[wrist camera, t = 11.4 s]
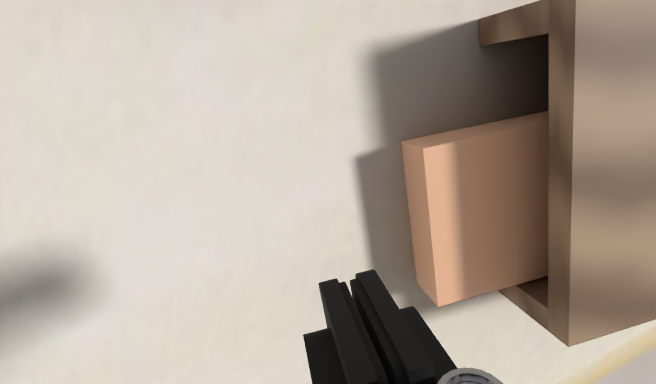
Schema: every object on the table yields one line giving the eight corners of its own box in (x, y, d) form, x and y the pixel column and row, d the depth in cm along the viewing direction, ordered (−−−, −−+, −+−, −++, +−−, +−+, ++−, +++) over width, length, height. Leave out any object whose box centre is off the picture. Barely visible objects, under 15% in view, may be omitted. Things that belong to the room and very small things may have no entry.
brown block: (478, 19, 22) (576, -11, 16) (635, -7, 24) (784, -43, 17) (491, 285, 28) (568, 347, 21) (619, 249, 29) (729, 295, 23)
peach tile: (398, 140, 24) (422, 148, 20) (590, 100, 26) (640, 101, 23) (414, 280, 27) (438, 307, 23) (585, 233, 29) (629, 252, 25)
